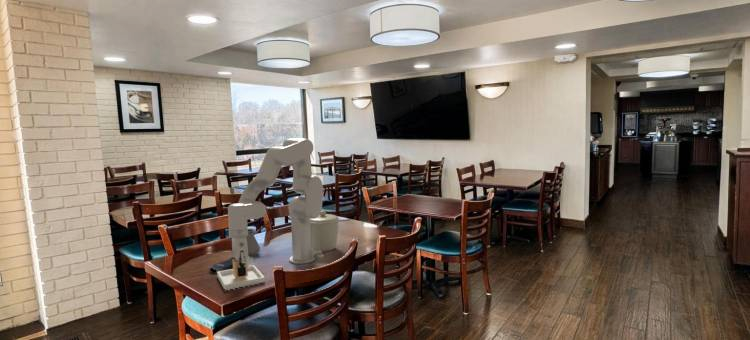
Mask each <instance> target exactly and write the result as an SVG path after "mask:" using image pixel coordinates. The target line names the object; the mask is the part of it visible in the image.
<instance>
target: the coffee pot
mask: <svg viewBox="0 0 750 340" xmlns="http://www.w3.org/2000/svg"><path fill="white" fill-rule="evenodd" d="M270 224H274V223H273V221H271V220H269V221H268V222H267V223H265V224H264V225H262V226H261V227H260V228H258V229H257V230H256V231H255V229H254V228H248V236H246V239H247V246H248V257H249V258H251V257H255V256H257V254H258V253H259V252H260V250H261V247H260V245H259V243H258V241H257V238H256V237H255V235H257V233H259V232H260V231H262V230H263V229H264V228H266V227H267V226H268V225H270ZM254 231H255V232H254Z"/></svg>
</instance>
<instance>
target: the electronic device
mask: <svg viewBox="0 0 750 340" xmlns="http://www.w3.org/2000/svg"><path fill="white" fill-rule="evenodd" d="M232 259H235V258H234V256H231V257H230V258H229V259H226V260H224V261H221V262H217V263H215V264H212V265H211V266H209V271H210V273H211V274H213V273H214V274H217V272H218V271H224V270H229V269H233V260H232ZM214 270H215V271H216V272H213V271H214Z"/></svg>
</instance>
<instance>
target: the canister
mask: <svg viewBox="0 0 750 340" xmlns="http://www.w3.org/2000/svg"><path fill="white" fill-rule="evenodd" d="M340 219H341V218H340V217H339V216H337V215H336V214H335V215H334V214H330V213H327V211H326V210H324V209H322V210H321V213H320V215H319V216H318V217H317V218H310V221H311V237H312V250H321V253H325V252H326V253H327V252H331V251H333V250H335V248H336V246H337V242H338V241H337V240H338V232H339V221H340Z"/></svg>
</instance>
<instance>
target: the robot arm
mask: <svg viewBox="0 0 750 340" xmlns="http://www.w3.org/2000/svg"><path fill="white" fill-rule="evenodd" d="M313 152H314V144H313V142H312V141H311V140H310V139H308V138H299V137H298V138H297V137H296V138H295V137H292V138H286V139H285V140H284V141H283V143H282V146H273V147H270V148H269V149H267V152H266V153H265V155H264V158H263V160H262V162H261V165H260V167H259V170H258V172H257V174H256V176H255V177H254V178H253V179H252V180H250V182H249V183H248V184H247V185H246V186H245V188H244V190H243V191H242V192H241V195H240V198H239V200H238V202H236V203H231V204H229V205H228V207H227V215H228V218H227V219H228V221H227V222H228V236H229V238H231V249H232V257H234V258H235V259H236V260H237V261H238V277H241V276H246V266H245V259H246V260H249V258H250V257H248V246H247V239H246V236H248V229H249V228H248V220H256V219H257V220H258V219H261V218H263V217H264V216H265V214H266V213H267V206H266V205H265V204H264V203H263V202H261V201H257V200H256V199H257V197H258V195H260V193H261V192H262V191H264V190H265V189H268V188H269V187H271V186H273V185H274V184H276V181H277V178H278V176H279V173H280V171H281V169H282V167H290V166H292V167H293V168H292V169H293V170H292V173H293V174H292V188H293V191H294V192H295V193H296V194H302V195H305V196H300V195H299V196H294V197H293V198H291V200H290V201H289V203H288V211H289V217H290V222H291V247H292V249H291V251H292V256H290V257H289V259H288V261H289V262H290V263H292V264H296V265H301V264H302V265H304V264H308V263H312V262H314V261H315V260H316V255H321V254H322V252H321V250H313V249H312V237H311V221H310V218H317V217H318V216H319V215H320V213H321V211H322V210H323V196H324V194H323V193H324V185H323V181H322V179H321V178H320V177H319V176H317V175H314V174H313V175H312V163H311V160H310V156H311V155H312V153H313ZM239 259H241V260H239ZM240 261H241V262H240Z"/></svg>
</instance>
